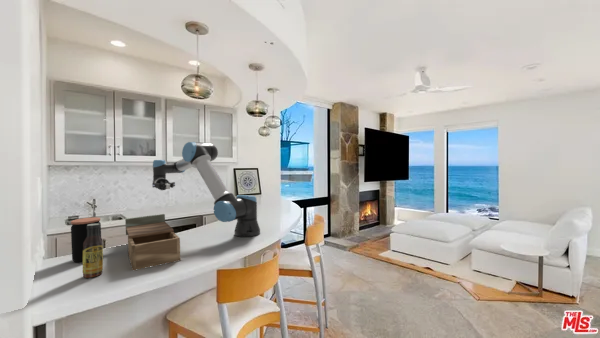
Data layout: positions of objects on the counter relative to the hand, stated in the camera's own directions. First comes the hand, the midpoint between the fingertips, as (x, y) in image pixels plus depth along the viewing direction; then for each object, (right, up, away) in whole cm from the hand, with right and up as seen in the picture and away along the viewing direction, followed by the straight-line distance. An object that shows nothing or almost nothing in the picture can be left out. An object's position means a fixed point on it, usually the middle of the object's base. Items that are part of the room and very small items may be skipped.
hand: (168, 186), depth 155 cm
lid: (0, -23, -21) cm, 31 cm away
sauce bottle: (-5, -31, -50) cm, 59 cm away
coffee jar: (-22, -31, -32) cm, 49 cm away
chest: (+9, -30, -32) cm, 45 cm away
